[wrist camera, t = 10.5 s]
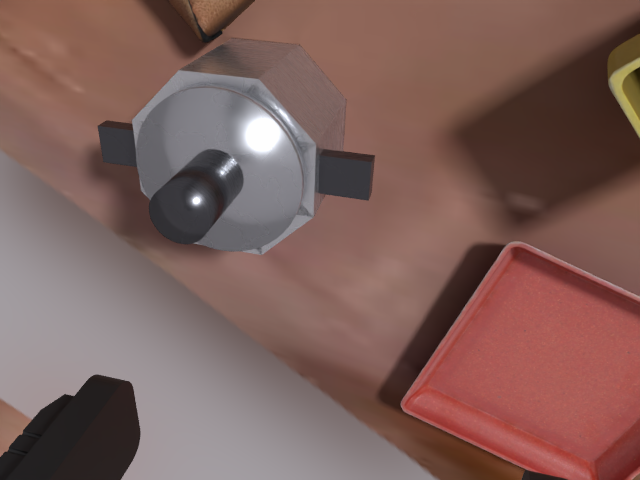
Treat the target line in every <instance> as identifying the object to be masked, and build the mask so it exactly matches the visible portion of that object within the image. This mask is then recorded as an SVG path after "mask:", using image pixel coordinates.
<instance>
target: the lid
mask: <svg viewBox="0 0 640 480" xmlns="http://www.w3.org/2000/svg"><path fill="white" fill-rule="evenodd" d="M136 163H137V169H138V174H139V177H140V180H141V183H142V186H143V188H144V190H145V193H146V195H147V196H148V198H149V200H150V204H149V213H150V217H151V220H152V222H153V224H154V226H155V227H156V228H157V230H158V231H159V232H160V233H161V234H162V235H163V236H165V237H166V238H168V239H169V240H171V241H174V242H176V243H180V244H192V243H196V242H197V243H199V244H201V245H204V246H207V247H210V248H214V249H218V250H224V251H247V250H252V249H256V248H260V247H262V246H264V245H267V244H269V243H270V242H272V241H274V240H275V239H277V238H278V237H279V236H280V235H282V234H283V233H284V232H285V230H286V229H287V228H288V227H289V226H290V224H291V223H292V221H293V219H294V218H295V216H296V214H297V213H298V211H299V209H300V207H301V205H302V202H303V199H304V195H305V192H306V183H307V176H306V166H305V160H304V156H303V153H302V150H301V147H300V145H299V143H298V141H297V138H296V137H295V135H294V133H293V132H292V130H291V128H290V127H289V126H288V124H287V123H286V122H285V120H284V119H283V118H282V117H281V116H280V115H279V114H278V113H277V112H276V111H275V110H274V109H273V108H272V107H271V106H269V105H268V104H267V103H266V102H264V101H263V100H261V99H260V98H258V97H257V96H255V95H253V94H251V93H249V92H247V91H245V90H243V89H239V88H236V87H233V86H230V85H224V84H216V83H204V84H196V85H192V86H188V87H185V88H183V89H181V90H178V91H176V92H175V93H173V94H172V95H170V96H168V97H167V98H165V99H164V100H162V101H161V102H160V103H159V104H157V105H156V106H155V107H154V108H153V109H152V110H151V112H150V113H149V114H148V115H147V117H146V119H145V120H144V122H143V124H142V126H141V129H140V132H139V135H138V139H137V145H136Z"/></svg>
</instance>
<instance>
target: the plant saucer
mask: <svg viewBox="0 0 640 480" xmlns="http://www.w3.org/2000/svg"><path fill="white" fill-rule="evenodd" d="M400 405H401V407H402V409H403V411H404V412H406V413H408V414H410V415H412V416H414V417H416V418H418V419H420V420H422V421H424V422H427V423H429V424H431V425H433V426H435V427H437V428H440V429H442V430H444V431H446V432H448V433H450V434H452V435H454V436H456V437H458V438H460V439H463V440H465V441H467V442H469V443H472V444H473V445H475V446H478V447H480V448H482V449H484V450H486V451H488V452H490V453H492V454H494V455H496V456H499V457H501V458H503V459H505V460H507V461H509V462H511V463H513V464H515V465H517V466H519V467H522V468H524V469H526V470H529V471H533V472H538V473H543V474H547V475H552V476H556V477H561V478H565V479H568V480H632V479H633V478H634V477H635V476H636V475H638V474H639V473H640V296H638V295H636V294H634V293H632V292H630V291H627V290H625V289H623V288H621V287H619V286H617V285H614V284H612V283H610V282H608V281H606V280H604V279H602V278H600V277H598V276H595V275H593V274H591V273H589V272H587V271H584V270H582V269H580V268H578V267H576V266H574V265H572V264H569V263H567V262H565V261H563V260H561V259H558V258H556V257H554V256H552V255H550V254H548V253H546V252H543V251H541V250H539V249H537V248H535V247H533V246H531V245H529V244H526V243H524V242H521V241H512V242H510V243H508V244H507V245H506V246H505V247H504V248H503V250H502V251H501V253H500V254H499V256H498V257H497V259H496V261H495V262H494V263H493V265H492V266H491V268H490V269H489V271H488V272H487V274H486V275H485V277H484V278H483V280H482V281H481V283H480V284H479V286H478V287H477V289H476V290H475V292H474V293H473V295H472V296H471V298H470V299H469V301H468V302H467V304H466V305H465V307H464V308H463V310H462V311H461V313H460V314H459V316H458V317H457V319H456V320H455V322H454V323H453V325H452V326H451V328H450V329H449V331H448V332H447V334H446V335H445V337H444V338H443V339H442V341H441V342H440V344H439V345H438V347H437V348H436V350H435V351H434V353H433V354H432V356H431V357H430V359H429V360H428V362H427V363H426V365H425V366H424V368H423V369H422V371H421V372H420V374H419V375H418V377H417V378H416V380H415V381H414V382H413V384H412V385H411V387H410V388H409V390H408V391H407V393H406V394H405V396H404V397H403V399H402V400H401V403H400Z"/></svg>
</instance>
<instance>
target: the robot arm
mask: <svg viewBox="0 0 640 480" xmlns="http://www.w3.org/2000/svg"><path fill="white" fill-rule="evenodd" d="M139 440H140V426H139V420H138V414H137V408H136V402H135V396H134V390H133V386H132V384H131V383H130V382H129V381H124V380H120V379H115V378H111V377H106V376H101V375H93V376H92V377H90V378H89V379H88V380H87V381H86V383H85V384H84V385H83V386H82V387H81V389H80V390H79V391H78V392H77V394H76V395H75V396H71V395H66V394H64V395H63V396H61V397H60V398H58V399H57V400H55V401H54V402H52V403H51V404H49V405H48V406H46V407H45V408H43V409H42V410H40V412H39V413H38V414H37V415H36V416H35V417H34V419H33V420H32V421H31V422H30V423H29V424H28V426H27V427H26V428H25V429H24V430H23V434H22V435H19V436H18V437H17V438H16V440H15V441H14V442H13V443H12V444H11V445H10V447H9V450H8V451H7V452H4V453H3V455H2V456H1V457H0V480H121V478H122V476H123V475H124V473H125V472H126V470H127V469H128V467H129V465H130V464H131V462H132V461H133V459H134V456H135V454H136V452H137V449H138V446H139ZM522 480H568V479H565V478H561V477H556V476H552V475H547V474H543V473H538V472H533V471H529V470H526V471H525V472H524V474H523V477H522Z"/></svg>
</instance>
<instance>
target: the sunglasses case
mask: <svg viewBox="0 0 640 480" xmlns="http://www.w3.org/2000/svg"><path fill="white" fill-rule="evenodd" d="M168 1H169V2H170V3H171V5H172V6H173V7H174V8H175V9H176V11H177V12H178V13H179V15H181V17H182V18H183V19H184V20H185V21H186V22H187V24H188V25H189V26H190V27H191V29H192V30H193V31H194V32H195V33H196V35H197V36H198V38H199V39H200V41H202V42H204V43H206V42H209V41H211V40H213V39H214V38H216V37H218V36H219V35H221V34H222V31H223V29H225V28H226V27H227V26H229V25H230V24H231V23H232V22H233V21H234V20H235V19H236V18H237V17H238V16H239V15H240V14H241V13H242V12H243V11H244V10H245V9H247V8H248V7H249V6H250V5H251V4H252V3H253V2H254V1H255V0H168Z"/></svg>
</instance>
